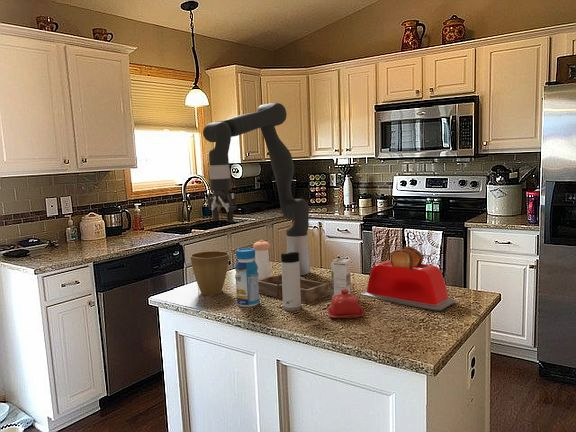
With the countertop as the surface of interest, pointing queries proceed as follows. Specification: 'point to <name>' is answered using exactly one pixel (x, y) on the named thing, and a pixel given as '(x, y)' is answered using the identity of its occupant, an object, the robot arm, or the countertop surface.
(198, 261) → the plant pot
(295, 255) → the travel mug
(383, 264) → the toaster
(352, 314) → the butter dish
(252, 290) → the beverage bottle
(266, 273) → the salt shaker
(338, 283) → the syrup box
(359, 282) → the countertop surface
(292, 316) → the countertop surface
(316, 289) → the wooden tray
